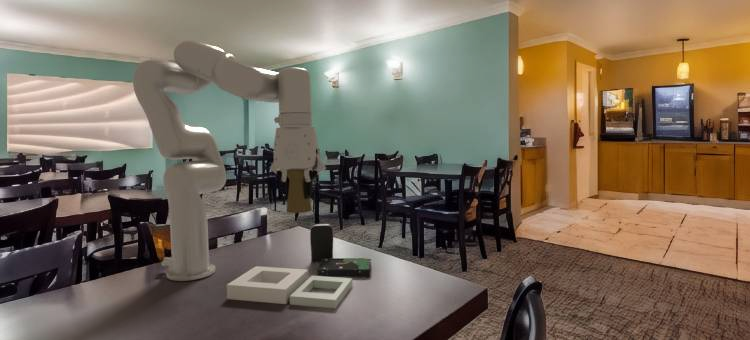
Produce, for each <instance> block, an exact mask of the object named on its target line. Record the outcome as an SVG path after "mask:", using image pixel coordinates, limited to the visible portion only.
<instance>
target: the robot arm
mask: <svg viewBox="0 0 750 340" xmlns="http://www.w3.org/2000/svg"><path fill="white" fill-rule="evenodd" d="M173 59H174V62H173V61H168V60H164V59H163V60H162V59H146V60H144V61H142V62H140V63H139V64H138V65H137V66H136V67H135V69H134V72H133V76H132V84H133V86H132V87H133V91H134V94H135V97H136V99H137V101H138V103H139V104H140V106H141V109H142V110H143V113H144V114H145V116H146V118H147V121H148V124H149V127H150V130H151V133H152V135H153V139H154V142H155V144H156V146H157V149H158V151H159V154H160V155H161V156H162V157H163V158H164V159H167V160H172V161H173V160H174V161H175V160H188V159H189V160H190V159H192V160H191V161H189V160H188V161H180V162H176V163H173V164H171V165H170V166H169V167H167V168H166V170H165V171H164V173H163V177H162V178H163V179H162V182H163V187H164V190H165V193H166V198H167V202H168V212H169V215H168V216H169V227H170V229H169V230H170V247H171V248H170V249H171V250H170V252H171V256H169V257H167V256H165V257H163V261H162V262H160V264H161V266H162V267H168V270H167V272H166V273H165V274H166V275H165V277H166V279H168V280H169V281H174V282H186V281H187V282H188V281H195V280H201V279H204V278H207V277H210V276H212V275H213V274H214V273H215V272H216V265H214V264H213V263H210V250H209V231H208V229H209V228H208V212H207V211H208V210H207V206H206V204H205V203H204V201H203V199H202V197H201V196H200V195H203V194H208V193H214V192H218V191H220V190H221V189H222V188H224V186H225V185H226V182H227V172H226V168H225V164H224V162H223V160H222V157H221V153H220V150H219V148H218V146H217V142H216V140H215V138H214V136H213V135H212V133H211V132H210V131H209V130H208V129H207V128H205V127H203V126H199V125H187V124H186V123H185V121H184V119H183V115H182V114H181V111H180V108H179V107H178V105H177V104H176V103H175V102H174V100H173V99H171V98H170V97H169V96H168V95H167V93H170V94H180V95H193V94H197V93H198V92H200V91H202V90H203V89H205V88H207V87H209V86H210V85H211V84H215V86H217V87H218V88H219V89H220V90H221V91H224V92H226V93H228V94H231V95H234V96H236V97H238V98H240V99H244V100H248V101H255V102H266V103H273V104H275V103H277V104H278V116H277V117H276V116H275V117H274V120H273V121H274V123H275V124H278V126H279V127H276V128H275V134H274V140H273V141H274V142H273V161H272V163H271V165H270V166H269V170H270V171H271V172H273V173H274V174H276V175H277V177H279V178H280V180H281V182H283V192H284V193H283V194H284V195H285V199H287V200H288V192H289V178H288V177H287V169H303V170H304V176H305V182H304V183H303V187H304V197H305V199H308V198H310V199H311V198H312V195H313V193H314V190H313V189H314V188H313V187H314V186H313V181H314V180H315V179H316V178H317V177H318V175H319V174H321V173H322V172H323V171H325V170H326V169H327V167H326V165H325V164H324V162H323V161H322V159H321V157H320V153H319V152H320V151H319V143H318V137H317V133H316V132H317V131H316V129H315V127H314V126H313V123H312V120H313V119H312V100H311V99H312V97H311V96H312V95H311V76H310V72H309V70H307V69H305V68H303V67H301V68H300V67H285V68H281V69H280V70H279V71H278V72H276V71H272V70H267V69H264V68H260V67H254V66H250V65H247V64H244V63H241V62H238V61H237V59H236V58H235V56H234V55H233V54H232V53H229V52H227V51H224V50H223V49H222V48H220V47H218V46H215V45H211V44H208V43H205V42H204V43H203V42H200V41H195V40H183V41H182V42H180V43H178V44H177V45H176V46H175V48H174V49H173ZM314 168H315V169H314Z"/></svg>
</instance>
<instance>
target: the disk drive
mask: <svg viewBox="0 0 750 340" xmlns="http://www.w3.org/2000/svg"><path fill="white" fill-rule="evenodd" d="M371 269H372V259H371V258H364V257H363V258H362V257H361V258H360V257H358V258H356V257H354V258H352V257H351V258H350V257H349V258H347V257H346V258H341V257H340V258H338V257H337V258H336V257H333V258H325V259H322V260H321V262H319V264H318V267H317V268H316V276H325V277H340V278H370V277H371V273H372V270H371Z"/></svg>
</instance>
